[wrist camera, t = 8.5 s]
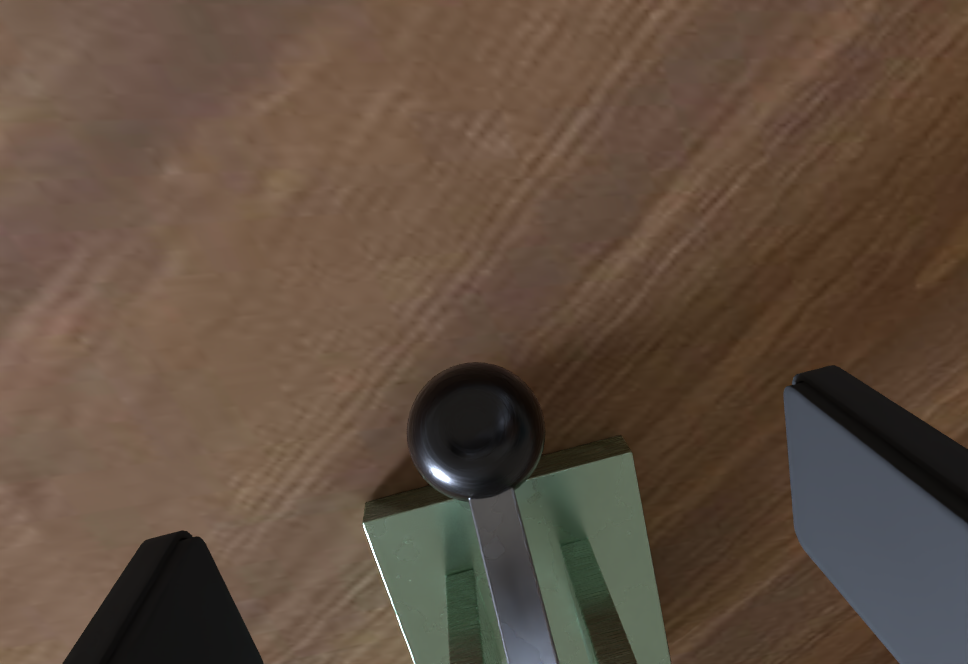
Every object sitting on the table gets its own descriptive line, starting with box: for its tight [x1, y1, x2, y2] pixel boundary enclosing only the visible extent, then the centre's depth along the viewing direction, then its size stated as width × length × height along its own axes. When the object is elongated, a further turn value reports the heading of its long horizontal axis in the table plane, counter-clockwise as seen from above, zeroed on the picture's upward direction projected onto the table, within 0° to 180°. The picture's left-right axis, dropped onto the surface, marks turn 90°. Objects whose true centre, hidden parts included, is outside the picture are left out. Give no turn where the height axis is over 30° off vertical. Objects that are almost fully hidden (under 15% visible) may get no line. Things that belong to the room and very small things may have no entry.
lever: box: [407, 362, 560, 664], centre depth 14 cm, size 14×3×3 cm
